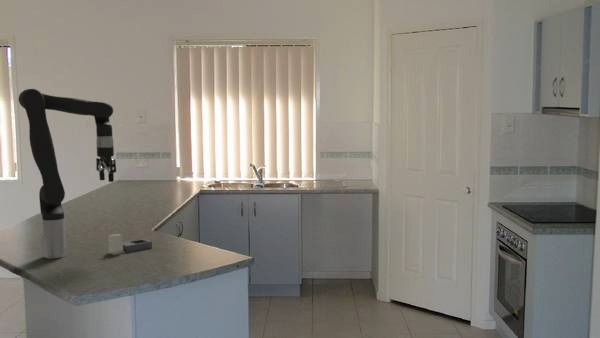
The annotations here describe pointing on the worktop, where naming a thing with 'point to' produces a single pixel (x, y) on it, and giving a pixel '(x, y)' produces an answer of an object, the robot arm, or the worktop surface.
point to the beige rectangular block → (115, 243)
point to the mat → (117, 253)
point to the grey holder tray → (136, 245)
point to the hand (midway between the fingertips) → (106, 180)
